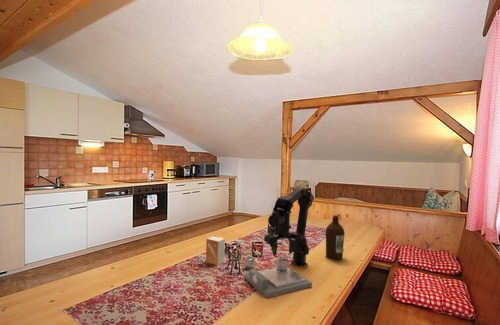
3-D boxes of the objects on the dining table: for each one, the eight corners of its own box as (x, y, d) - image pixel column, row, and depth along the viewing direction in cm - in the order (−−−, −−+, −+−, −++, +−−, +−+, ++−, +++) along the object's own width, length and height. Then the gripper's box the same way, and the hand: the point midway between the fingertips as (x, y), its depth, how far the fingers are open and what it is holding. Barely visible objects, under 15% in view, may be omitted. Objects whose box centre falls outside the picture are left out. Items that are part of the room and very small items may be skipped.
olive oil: (321, 256, 162) (322, 214, 161) (332, 253, 167) (334, 213, 167) (335, 262, 153) (337, 218, 152) (347, 258, 158) (349, 216, 158)
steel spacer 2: (283, 266, 136) (283, 257, 136) (289, 270, 132) (289, 260, 132) (275, 268, 134) (275, 258, 134) (280, 272, 129) (281, 262, 129)
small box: (205, 262, 146) (206, 238, 146) (212, 258, 152) (213, 235, 151) (217, 265, 142) (218, 241, 142) (224, 262, 148) (225, 238, 148)
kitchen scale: (285, 269, 140) (286, 259, 140) (311, 286, 122) (312, 274, 122) (244, 278, 128) (244, 266, 128) (265, 298, 111) (266, 285, 111)
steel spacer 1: (251, 265, 145) (251, 255, 144) (256, 268, 140) (256, 259, 140) (243, 266, 142) (243, 257, 142) (247, 270, 138) (248, 260, 138)
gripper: (289, 218, 144) (288, 247, 144) (258, 221, 135) (257, 252, 135) (302, 223, 134) (301, 254, 134) (270, 226, 125) (269, 260, 125)
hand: (282, 255), depth 132 cm, fingers open, 9 cm apart
